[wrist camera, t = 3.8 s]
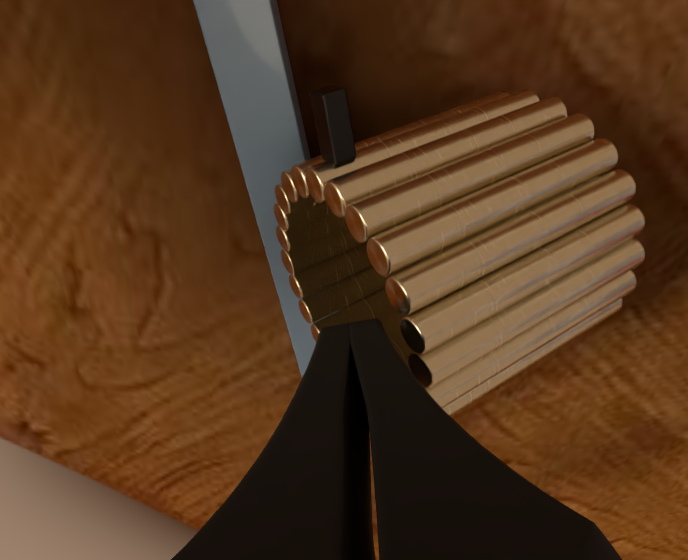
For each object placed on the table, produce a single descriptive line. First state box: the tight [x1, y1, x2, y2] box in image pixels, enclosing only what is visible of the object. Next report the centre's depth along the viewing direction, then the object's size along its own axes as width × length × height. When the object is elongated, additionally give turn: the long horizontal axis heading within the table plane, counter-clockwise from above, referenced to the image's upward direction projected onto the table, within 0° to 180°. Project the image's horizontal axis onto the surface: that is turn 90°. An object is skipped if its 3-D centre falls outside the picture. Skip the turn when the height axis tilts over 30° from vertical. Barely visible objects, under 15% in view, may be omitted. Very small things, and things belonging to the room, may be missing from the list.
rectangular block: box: [193, 0, 339, 378], centre depth 18 cm, size 2×16×2 cm, turn 10°
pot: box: [274, 86, 645, 416], centre depth 15 cm, size 10×11×10 cm
